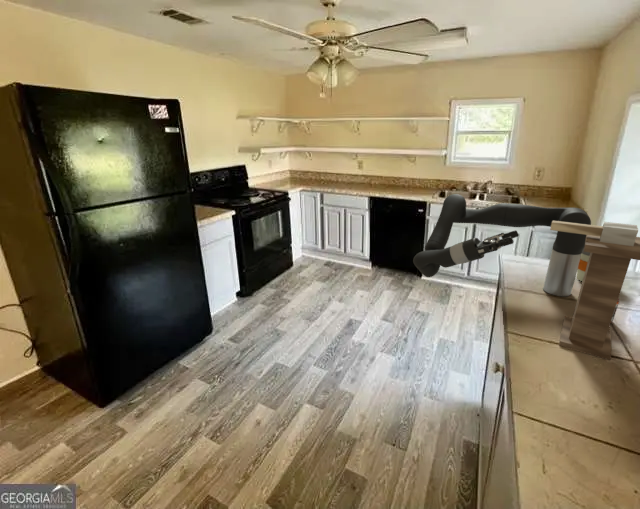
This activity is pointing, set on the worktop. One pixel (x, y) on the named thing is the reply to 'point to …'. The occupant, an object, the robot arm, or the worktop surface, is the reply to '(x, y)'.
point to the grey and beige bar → (601, 231)
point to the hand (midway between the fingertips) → (515, 236)
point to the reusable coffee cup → (582, 265)
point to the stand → (598, 297)
